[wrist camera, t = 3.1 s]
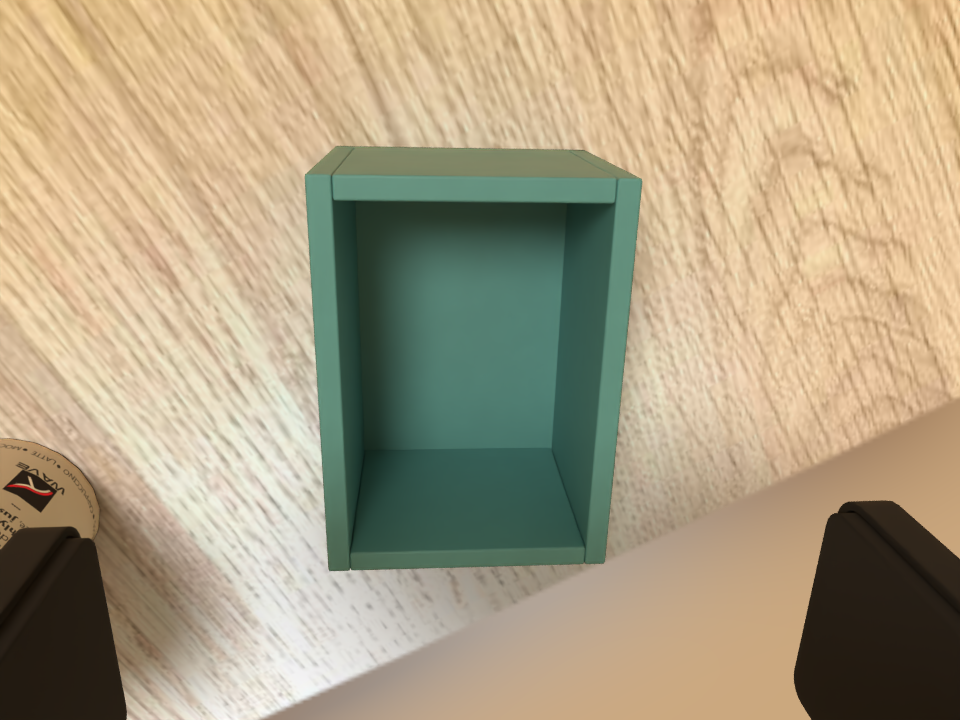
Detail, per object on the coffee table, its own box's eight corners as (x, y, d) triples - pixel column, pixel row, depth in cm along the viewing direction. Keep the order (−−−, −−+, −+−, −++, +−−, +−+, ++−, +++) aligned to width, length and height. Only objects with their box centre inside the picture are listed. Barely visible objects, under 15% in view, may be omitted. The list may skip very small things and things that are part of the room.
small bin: (585, 150, 20) (643, 178, 15) (564, 454, 23) (604, 564, 18) (335, 145, 19) (304, 174, 14) (349, 457, 22) (328, 572, 17)
